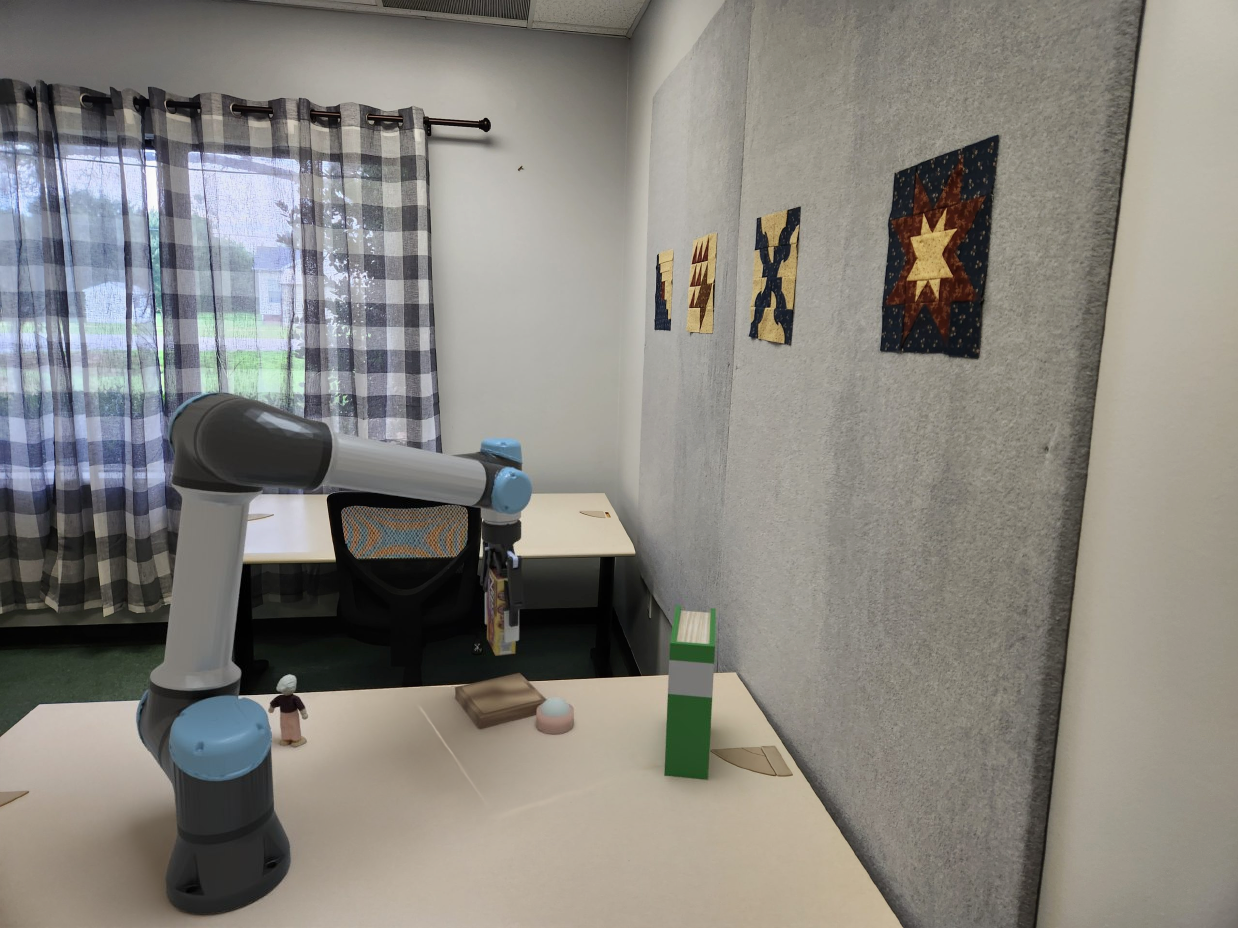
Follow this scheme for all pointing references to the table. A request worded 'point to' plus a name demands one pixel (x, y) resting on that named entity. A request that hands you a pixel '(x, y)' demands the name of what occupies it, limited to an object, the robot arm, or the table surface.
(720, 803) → the table surface
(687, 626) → the hardback book
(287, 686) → the grandmother figurine
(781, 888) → the table surface
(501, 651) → the candy box
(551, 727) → the pincushion
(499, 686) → the brown tray
